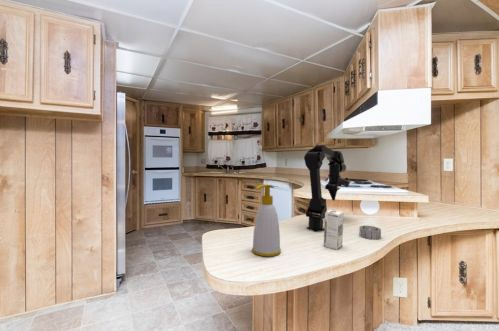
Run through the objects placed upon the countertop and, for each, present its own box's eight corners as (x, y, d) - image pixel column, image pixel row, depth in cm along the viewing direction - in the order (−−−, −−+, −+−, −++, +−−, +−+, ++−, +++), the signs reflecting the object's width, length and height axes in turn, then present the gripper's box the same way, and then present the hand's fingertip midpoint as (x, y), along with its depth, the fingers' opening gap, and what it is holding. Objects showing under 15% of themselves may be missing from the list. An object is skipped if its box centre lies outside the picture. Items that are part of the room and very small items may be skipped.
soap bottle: (245, 251, 94) (246, 184, 93) (265, 243, 102) (266, 182, 101) (267, 260, 86) (268, 187, 85) (286, 251, 94) (288, 184, 93)
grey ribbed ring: (371, 240, 107) (372, 232, 107) (355, 234, 115) (355, 226, 115) (384, 238, 111) (385, 229, 111) (368, 232, 119) (368, 224, 119)
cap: (371, 239, 110) (371, 230, 109) (361, 235, 114) (361, 227, 114) (378, 237, 112) (378, 229, 112) (368, 234, 116) (369, 226, 116)
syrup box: (328, 242, 104) (329, 209, 104) (342, 246, 101) (343, 211, 100) (323, 246, 100) (324, 211, 99) (337, 250, 96) (338, 214, 95)
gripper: (347, 174, 126) (346, 204, 126) (351, 172, 142) (350, 199, 143) (325, 173, 131) (324, 202, 132) (331, 172, 147) (331, 197, 148)
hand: (333, 200), depth 138 cm, fingers closed
